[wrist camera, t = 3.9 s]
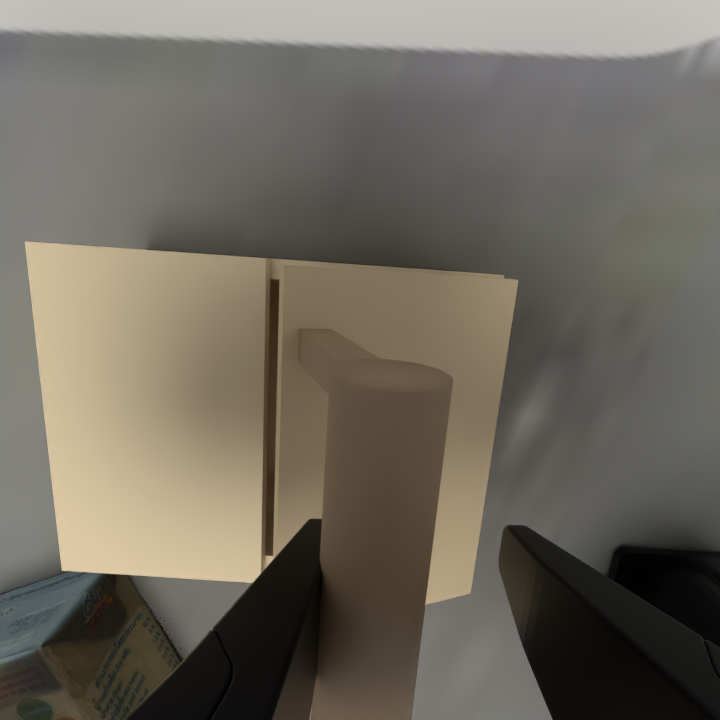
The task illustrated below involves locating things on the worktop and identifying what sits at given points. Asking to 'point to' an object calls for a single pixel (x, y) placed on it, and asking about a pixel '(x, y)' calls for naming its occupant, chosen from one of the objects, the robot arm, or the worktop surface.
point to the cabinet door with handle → (385, 459)
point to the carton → (161, 406)
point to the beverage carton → (79, 649)
